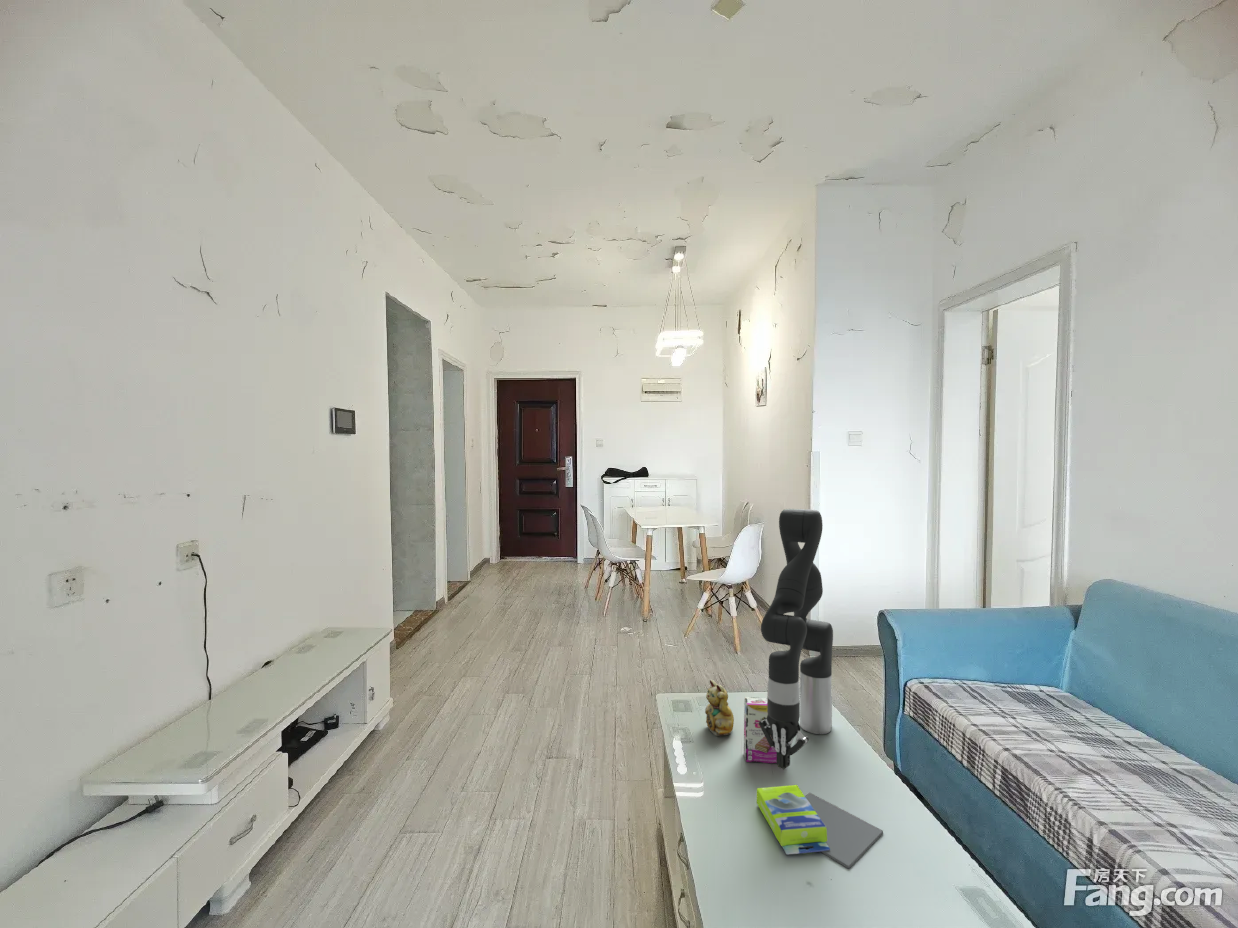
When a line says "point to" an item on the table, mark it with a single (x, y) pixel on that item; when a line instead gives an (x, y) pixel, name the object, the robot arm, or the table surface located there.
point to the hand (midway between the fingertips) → (783, 766)
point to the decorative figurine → (718, 711)
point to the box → (792, 819)
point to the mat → (844, 832)
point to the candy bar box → (756, 732)
